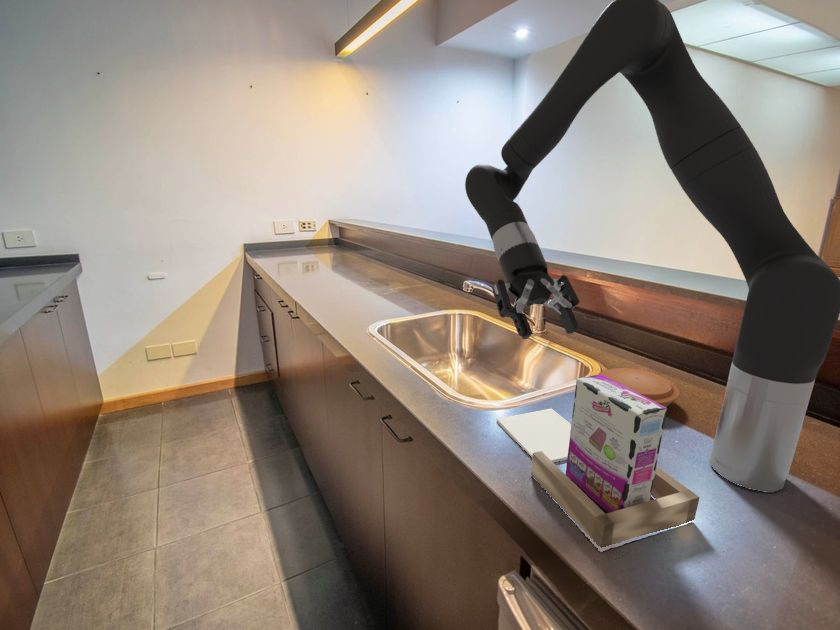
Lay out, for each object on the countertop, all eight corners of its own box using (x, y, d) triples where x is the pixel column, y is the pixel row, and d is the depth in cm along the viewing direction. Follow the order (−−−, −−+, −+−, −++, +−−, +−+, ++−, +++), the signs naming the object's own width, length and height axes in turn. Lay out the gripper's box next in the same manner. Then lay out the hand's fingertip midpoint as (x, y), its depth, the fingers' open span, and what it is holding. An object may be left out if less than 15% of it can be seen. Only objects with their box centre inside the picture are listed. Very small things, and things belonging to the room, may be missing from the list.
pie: (674, 428, 77) (679, 403, 75) (586, 406, 85) (588, 383, 84) (678, 394, 89) (682, 373, 88) (601, 378, 97) (603, 357, 96)
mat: (551, 411, 83) (551, 408, 83) (601, 451, 70) (601, 448, 70) (496, 421, 79) (496, 418, 79) (539, 466, 66) (539, 463, 66)
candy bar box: (649, 517, 56) (670, 407, 51) (620, 528, 54) (639, 415, 50) (589, 467, 66) (602, 371, 61) (563, 475, 64) (574, 377, 60)
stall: (610, 456, 69) (613, 434, 68) (693, 522, 55) (699, 497, 54) (530, 475, 64) (532, 453, 63) (600, 552, 51) (604, 525, 49)
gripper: (490, 242, 70) (522, 328, 63) (562, 239, 75) (600, 319, 68) (475, 268, 77) (502, 349, 70) (542, 263, 81) (575, 339, 74)
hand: (550, 334), depth 69 cm, fingers open, 8 cm apart
